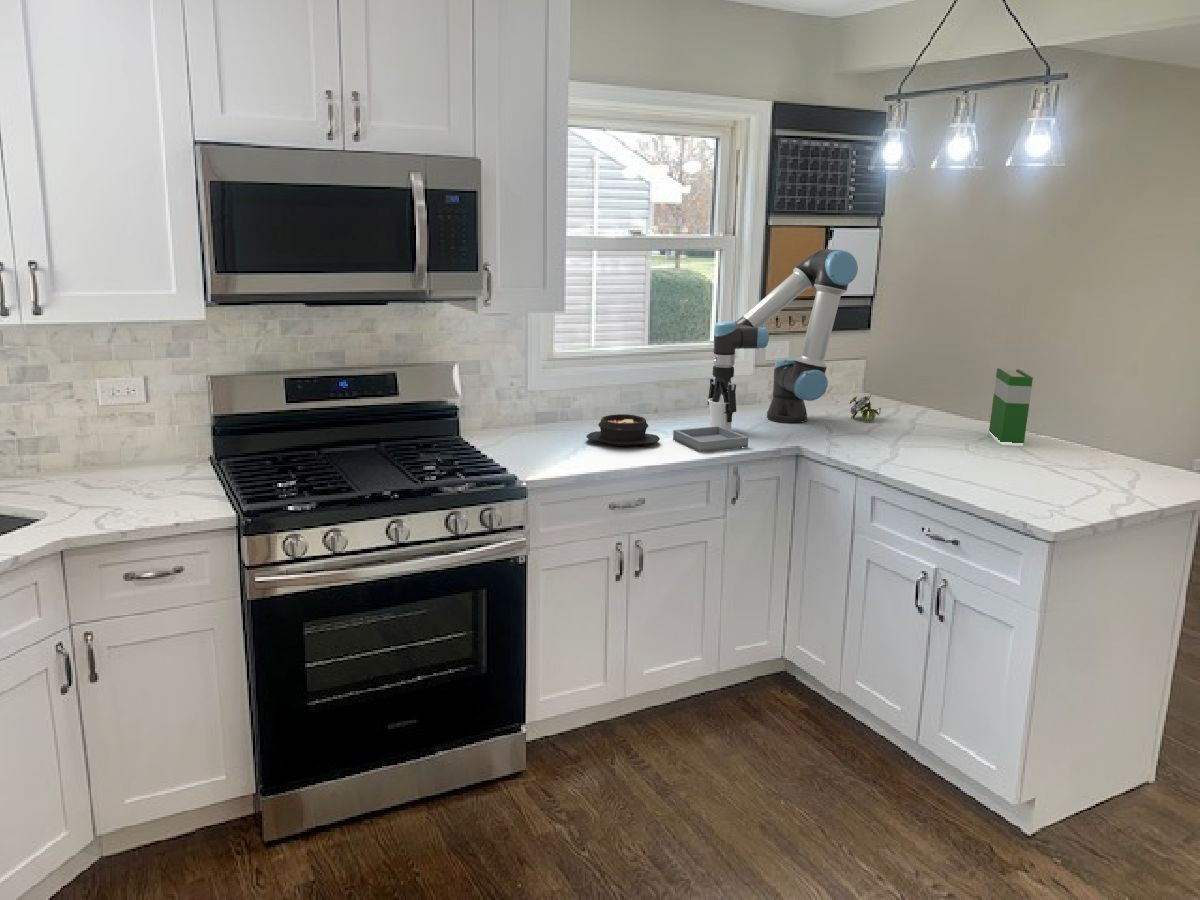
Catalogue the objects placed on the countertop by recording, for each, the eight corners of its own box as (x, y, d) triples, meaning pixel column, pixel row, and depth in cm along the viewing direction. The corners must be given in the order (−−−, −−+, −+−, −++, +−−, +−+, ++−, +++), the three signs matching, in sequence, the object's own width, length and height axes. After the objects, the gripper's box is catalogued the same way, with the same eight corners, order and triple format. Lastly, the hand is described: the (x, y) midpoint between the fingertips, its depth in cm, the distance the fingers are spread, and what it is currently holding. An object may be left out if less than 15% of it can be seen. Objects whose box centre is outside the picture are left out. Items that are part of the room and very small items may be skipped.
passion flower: (852, 432, 348) (845, 404, 353) (880, 427, 347) (873, 399, 352) (855, 421, 338) (848, 392, 342) (884, 416, 337) (877, 388, 341)
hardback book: (988, 433, 325) (997, 368, 319) (1010, 435, 324) (1019, 369, 318) (1000, 445, 308) (1009, 376, 302) (1023, 446, 307) (1032, 377, 301)
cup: (733, 427, 329) (735, 398, 326) (735, 433, 319) (736, 403, 316) (706, 426, 330) (707, 397, 327) (706, 432, 320) (708, 402, 317)
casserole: (581, 447, 298) (581, 422, 296) (592, 434, 316) (592, 411, 314) (655, 451, 293) (656, 426, 291) (662, 438, 311) (663, 415, 309)
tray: (718, 435, 317) (719, 425, 316) (747, 447, 300) (748, 437, 299) (673, 439, 309) (673, 430, 308) (700, 452, 293) (700, 442, 292)
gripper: (699, 361, 326) (696, 422, 332) (730, 371, 308) (727, 435, 313) (717, 360, 329) (714, 421, 335) (749, 369, 311) (745, 433, 316)
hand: (720, 427), depth 324 cm, fingers closed on cup, 8 cm apart
